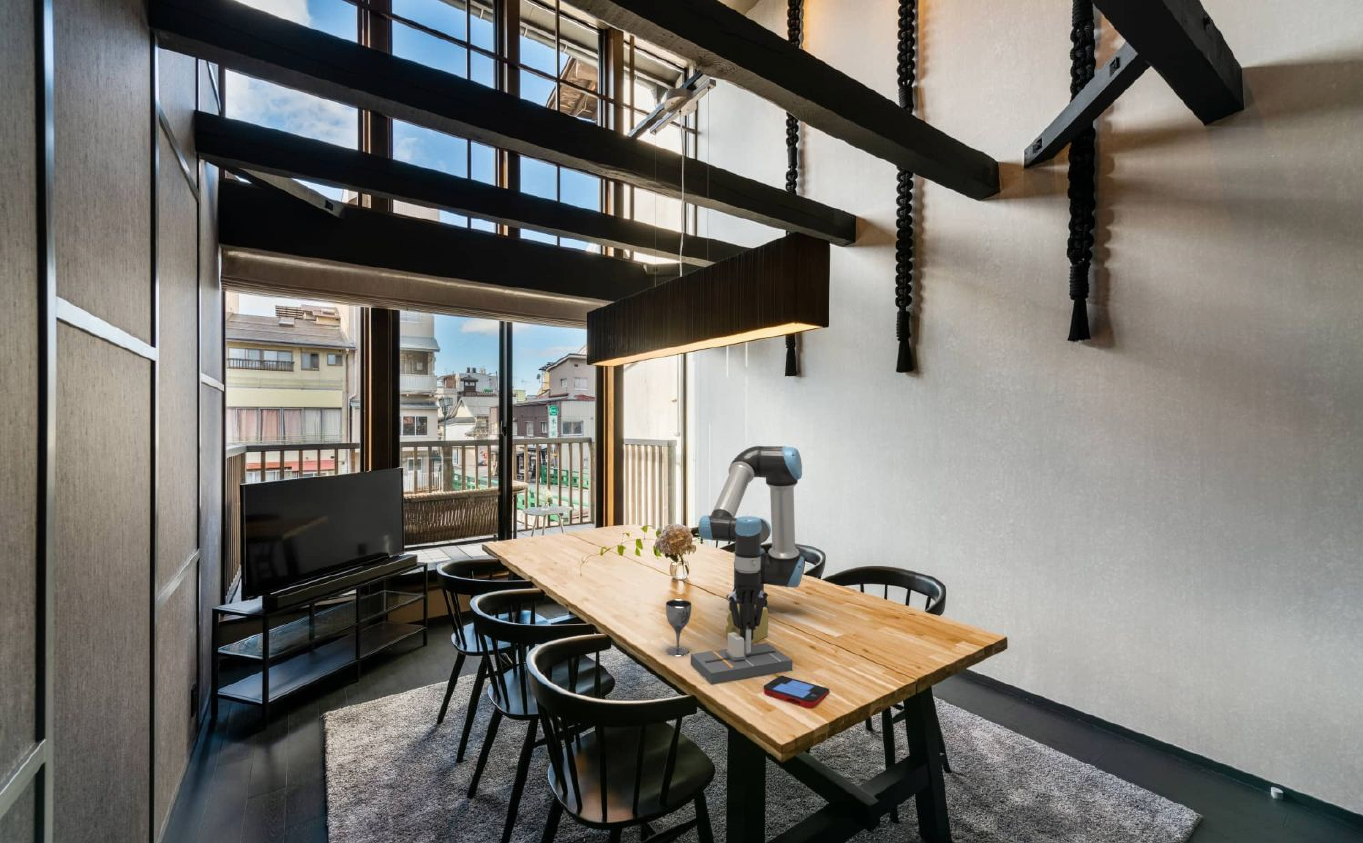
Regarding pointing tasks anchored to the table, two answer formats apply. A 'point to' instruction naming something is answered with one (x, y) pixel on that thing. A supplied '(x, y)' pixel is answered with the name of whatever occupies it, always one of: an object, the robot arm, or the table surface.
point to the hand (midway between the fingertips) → (746, 651)
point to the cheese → (758, 633)
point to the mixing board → (740, 664)
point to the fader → (735, 647)
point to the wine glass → (678, 621)
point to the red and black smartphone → (795, 691)
